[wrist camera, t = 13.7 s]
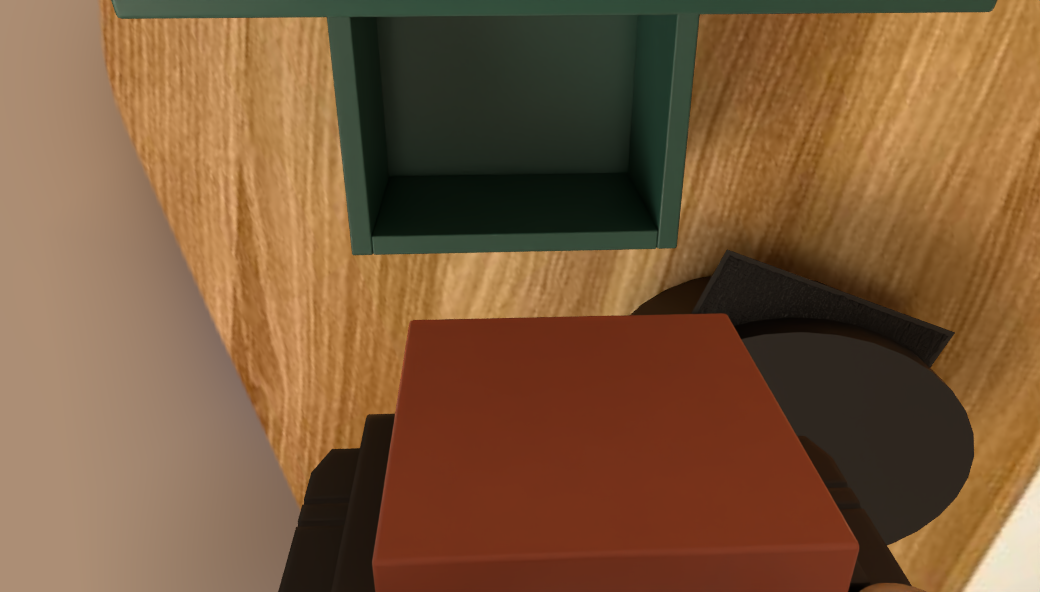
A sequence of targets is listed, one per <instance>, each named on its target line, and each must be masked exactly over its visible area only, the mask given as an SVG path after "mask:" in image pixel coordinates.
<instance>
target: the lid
mask: <svg viewBox="0 0 1040 592" xmlns="http://www.w3.org/2000/svg"><path fill="white" fill-rule="evenodd" d="M111 1H112V4H113V7H114V10H115V13H116V15H117V16H118V18H121V19H144V18H275V17H406V16H538V15H669V14H800V13H932V12H990V11H992V10H993V9H994V7H995V4H996V2H997V0H111Z"/></svg>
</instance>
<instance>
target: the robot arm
mask: <svg viewBox="0 0 1040 592" xmlns="http://www.w3.org/2000/svg"><path fill="white" fill-rule="evenodd" d="M394 418H395V414H369V415H367V418H366V422H365V427H364V432H363V436H362V441H361V446H360V448H356V449H332V450H331V451H330V452H329V453H328V454H327V455H326V457H325V458H324V459H323V460H322V461H321V462H320V463H319V465H318V466H317V467H316V468H315V469H314V470H313V471H312V473H311V476H310V480H309V483H308V487H307V490H306V494H305V498H304V505H302V508H301V512H300V516H299V519H298V527H296V530H295V534H294V537H293V541H292V545H291V548H290V552H289V555H288V559H287V563H286V567H285V570H284V573H283V577H282V581H281V584H280V588H279V591H278V592H375V584H374V576H373V567H372V559H373V553H374V547H375V540H376V534H377V527H378V521H379V514H380V508H381V502H382V495H383V489H384V482H385V476H386V470H387V463H388V457H389V450H390V444H391V437H392V431H393V425H394ZM797 437H798V439H799V441H800V442H801V444H802V446H803V448H804V449H805V451H806V453H807V455H808V456H809V458H810V460H811V461H812V463H813V465H814V467H815V468H816V470H817V472H818V474H819V475H820V477H821V479H822V481H823V482H824V484H825V486H826V487H827V489H828V491H829V493H830V494H831V496H832V498H833V500H834V501H835V503H836V505H837V507H838V508H839V510H840V512H841V514H842V515H843V517H844V519H845V520H846V522H847V524H848V526H849V527H850V529H851V531H852V533H853V534H854V536H855V538H856V540H857V541H858V544H859V552H858V556H857V560H856V563H855V567H854V571H853V575H852V578H851V582H850V586H849V589H848V592H926V591H924V590H921V589H918V588H916V587H912V586H911V584H910V582H909V581H908V579H907V577H906V576H905V574H904V573H903V571H902V569H901V568H900V566H899V565H898V563H897V561H896V560H895V558H894V556H893V555H892V553H891V552H890V550H889V548H888V547H887V545H886V544H885V542H884V540H883V539H882V537H881V535H880V534H879V532H878V531H877V529H876V527H875V526H874V524H873V523H872V521H871V519H870V518H869V516H868V514H867V513H866V511H865V510H864V509H861V506H860V504H861V503H860V502H859V500H858V498H857V497H856V495H855V493H854V492H853V490H852V489H851V488H848V482H847V481H846V479H845V477H844V476H843V474H842V472H841V471H840V469H839V468H838V466H837V464H836V463H835V461H834V460H833V458H832V457H831V456H830V455H829V454H827V453H826V452H825V451H824V450H822V449H821V448H820V447H819V446H817V445H816V444H815V443H814V442H812V441H811V440H810V439H809V438H807V437H806V436H797Z"/></svg>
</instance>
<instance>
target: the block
mask: <svg viewBox="0 0 1040 592" xmlns="http://www.w3.org/2000/svg"><path fill="white" fill-rule="evenodd" d="M858 552H859V544H858V541H857V540H856V538H855V536H854V534H853V533H852V531H851V529H850V527H849V526H848V524H847V522H846V520H845V519H844V517H843V515H842V514H841V512H840V510H839V508H838V507H837V505H836V503H835V501H834V500H833V498H832V496H831V494H830V493H829V491H828V489H827V487H826V486H825V484H824V482H823V481H822V479H821V477H820V475H819V474H818V472H817V470H816V468H815V467H814V465H813V463H812V461H811V460H810V458H809V456H808V455H807V453H806V451H805V449H804V448H803V446H802V444H801V442H800V441H799V439H798V437H797V435H796V434H795V432H794V430H793V428H792V427H791V425H790V423H789V422H788V420H787V418H786V416H785V415H784V413H783V411H782V409H781V408H780V406H779V404H778V402H777V401H776V399H775V397H774V395H773V394H772V392H771V390H770V389H769V387H768V385H767V383H766V382H765V380H764V378H763V376H762V375H761V373H760V371H759V369H758V368H757V366H756V364H755V363H754V361H753V359H752V357H751V356H750V354H749V352H748V350H747V349H746V347H745V345H744V343H743V342H742V340H741V338H740V336H739V335H738V333H737V331H736V330H735V328H734V326H733V324H732V323H731V321H730V319H729V317H728V316H727V315H726V314H723V313H719V314H673V315H628V316H582V317H537V318H491V319H445V320H413V321H411V322H410V324H409V328H408V335H407V341H406V348H405V354H404V360H403V367H402V373H401V380H400V386H399V392H398V399H397V405H396V412H395V418H394V425H393V431H392V437H391V444H390V450H389V457H388V463H387V470H386V476H385V482H384V489H383V495H382V502H381V508H380V514H379V521H378V527H377V534H376V540H375V547H374V553H373V559H372V567H373V576H374V584H375V592H848V589H849V586H850V582H851V578H852V575H853V571H854V567H855V563H856V560H857V556H858Z"/></svg>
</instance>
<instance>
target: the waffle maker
mask: <svg viewBox="0 0 1040 592" xmlns="http://www.w3.org/2000/svg"><path fill="white" fill-rule="evenodd" d="M719 313H723V314H726V315H727V316H728V317H729V319H730V321H731V323H732V324H733V326H734V328H735V330H736V331H737V333H738V335H739V336H740V338H741V340H742V342H743V343H744V345H745V347H746V349H747V350H748V352H749V354H750V356H751V357H752V359H753V361H754V363H755V364H756V366H757V368H758V369H759V371H760V373H761V375H762V376H763V378H764V380H765V382H766V383H767V385H768V387H769V389H770V390H771V392H772V394H773V395H774V397H775V399H776V401H777V402H778V404H779V406H780V408H781V409H782V411H783V413H784V415H785V416H786V418H787V420H788V422H789V423H790V425H791V427H792V428H793V430H794V432H795V434H796V435H797V436H806V437H807V438H809V439H810V440H811V441H812V442H814V443H815V444H816V445H817V446H819V447H820V448H821V449H822V450H824V451H825V452H826V453H827V454H829V455H830V456H831V457H832V458H833V460H834V461H835V463H836V464H837V466H838V468H839V469H840V471H841V472H842V474H843V476H844V477H845V479H846V481H847V482H848V488H851V489H852V490H853V492H854V493H855V495H856V497H857V498H858V500H859V502H860V503H861V504H860V506H861V509H864V510H865V511H866V513H867V514H868V516H869V518H870V519H871V521H872V523H873V524H874V526H875V527H876V529H877V531H878V532H879V534H880V535H881V537H882V539H883V540H884V542H885V544H886V545H889V544H892V543H894V542H896V541H898V540H900V539H902V538H904V537H906V536H908V535H910V534H913V533H915V532H917V531H918V530H920V529H921V528H922V527H924V526H925V525H927V524H928V523H929V522H931V521H932V520H934V519H935V518H936V517H938V516H939V515H940V514H941V513H942V512H943V511H944V510H945V509H946V508H947V507H948V506H949V505H950V504H951V503H952V501H953V500H954V499H955V498H956V497H957V495H958V494H959V492H960V490H961V489H962V487H963V485H964V484H965V482H966V480H967V478H968V476H969V472H970V469H971V465H972V461H973V458H974V436H973V431H972V428H971V425H970V422H969V419H968V416H967V413H966V411H965V409H964V408H963V406H962V405H961V403H960V402H959V400H958V399H957V397H956V396H955V394H954V393H953V391H952V390H951V389H950V388H949V387H948V386H947V385H946V384H945V383H944V382H943V381H942V380H941V379H940V378H939V377H938V376H937V375H936V374H935V373H934V372H933V370H932V369H931V368H930V367H931V366H932V364H933V363H934V361H935V360H936V359H937V357H938V356H939V354H940V353H941V352H942V350H943V349H944V347H945V346H946V345H947V343H948V342H949V341H950V339H951V338H952V336H953V335H954V334H955V332H952V331H949V330H946V329H944V328H941V327H938V326H935V325H933V324H930V323H927V322H924V321H922V320H919V319H916V318H913V317H911V316H908V315H905V314H902V313H900V312H897V311H894V310H892V309H889V308H886V307H883V306H881V305H878V304H875V303H872V302H870V301H867V300H864V299H861V298H859V297H856V296H853V295H850V294H848V293H845V292H842V291H840V290H837V289H835V288H833V287H830V286H828V285H825V284H823V283H820V282H818V281H813V280H809V279H807V278H804V277H801V276H798V275H796V274H793V273H790V272H787V271H785V270H782V269H779V268H776V267H774V266H771V265H768V264H765V263H763V262H760V261H757V260H754V259H752V258H749V257H746V256H744V255H741V254H738V253H735V252H733V251H730V250H726V252H725V254H724V256H723V257H722V259H721V261H720V263H719V265H718V266H717V268H716V270H715V272H714V274H713V275H712V276H709V277H704V278H700V279H695V280H691V281H689V282H686V283H683V284H681V285H678V286H676V287H673V288H671V289H668V290H665V291H664V292H662V293H660V294H659V295H657V296H655V297H654V298H652V299H651V300H649V301H647V302H646V303H644V304H642V305H641V306H640V307H639V308H638V309H637V310H636V311H635V312H634V313H633V314H632V315H673V314H719Z"/></svg>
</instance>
